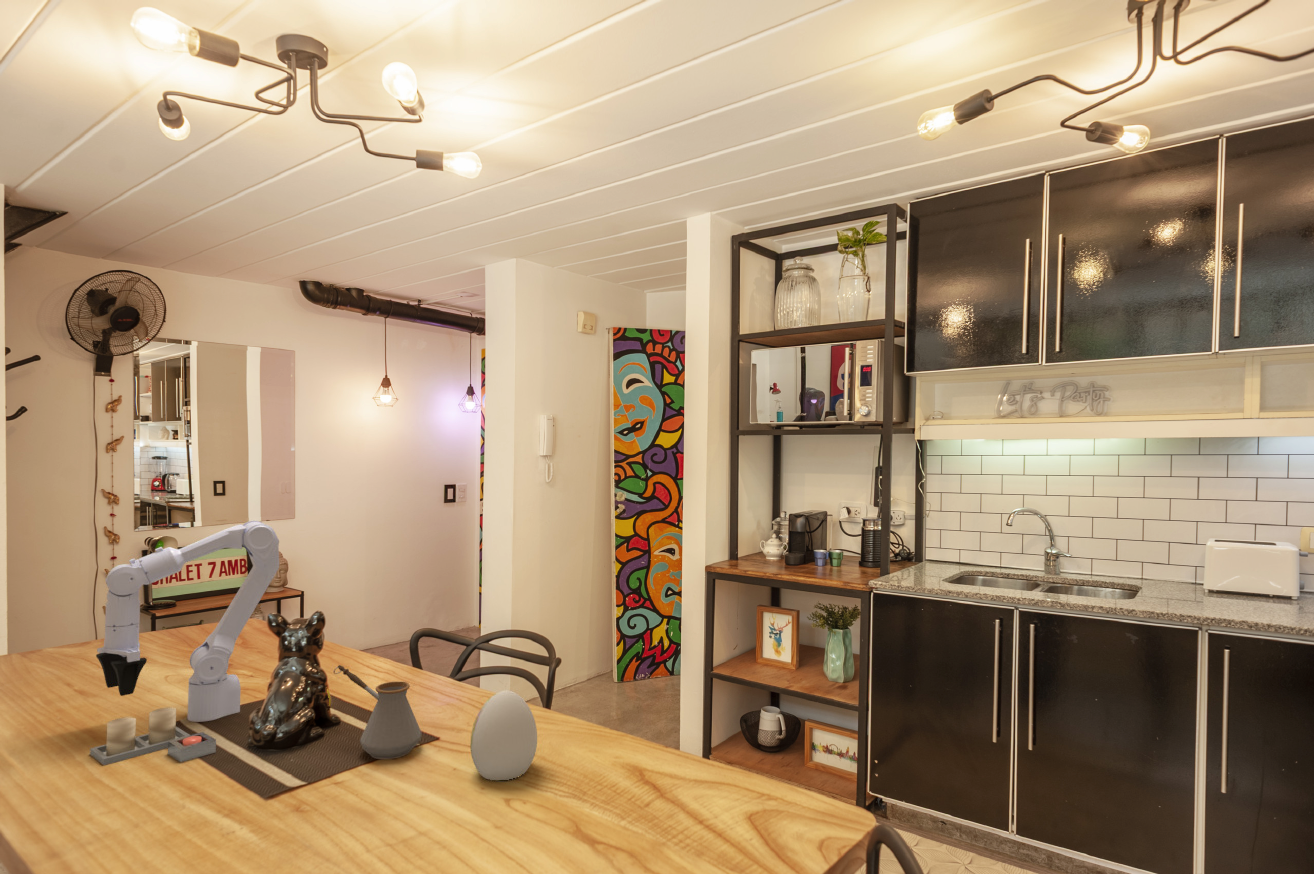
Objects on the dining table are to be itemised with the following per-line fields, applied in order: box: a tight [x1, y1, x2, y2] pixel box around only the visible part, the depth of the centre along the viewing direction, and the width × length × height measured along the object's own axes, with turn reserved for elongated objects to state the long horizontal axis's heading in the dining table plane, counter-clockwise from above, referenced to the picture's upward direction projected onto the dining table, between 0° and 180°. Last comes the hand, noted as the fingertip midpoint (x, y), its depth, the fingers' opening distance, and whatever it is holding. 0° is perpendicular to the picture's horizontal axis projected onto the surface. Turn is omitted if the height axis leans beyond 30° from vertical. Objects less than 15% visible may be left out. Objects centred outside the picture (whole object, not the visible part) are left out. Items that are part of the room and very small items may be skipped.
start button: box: [183, 736, 202, 746], centre depth 138 cm, size 3×3×2 cm
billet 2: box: [148, 707, 177, 745], centre depth 143 cm, size 4×4×6 cm
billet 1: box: [105, 716, 137, 757], centre depth 137 cm, size 4×4×6 cm
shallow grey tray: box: [89, 726, 191, 766], centre depth 140 cm, size 14×8×2 cm, turn 143°
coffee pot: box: [333, 664, 422, 760], centre depth 146 cm, size 21×12×15 cm, turn 65°
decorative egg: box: [470, 689, 538, 781], centre depth 135 cm, size 12×12×15 cm
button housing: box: [167, 731, 217, 763], centre depth 138 cm, size 6×6×4 cm
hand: (120, 690), depth 148 cm, fingers open, 7 cm apart
